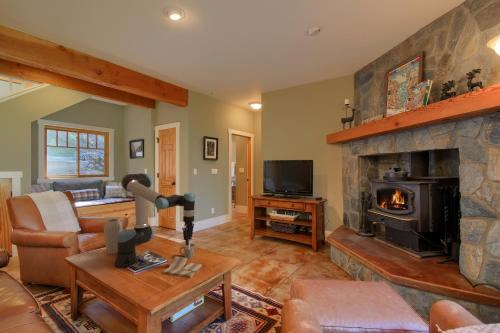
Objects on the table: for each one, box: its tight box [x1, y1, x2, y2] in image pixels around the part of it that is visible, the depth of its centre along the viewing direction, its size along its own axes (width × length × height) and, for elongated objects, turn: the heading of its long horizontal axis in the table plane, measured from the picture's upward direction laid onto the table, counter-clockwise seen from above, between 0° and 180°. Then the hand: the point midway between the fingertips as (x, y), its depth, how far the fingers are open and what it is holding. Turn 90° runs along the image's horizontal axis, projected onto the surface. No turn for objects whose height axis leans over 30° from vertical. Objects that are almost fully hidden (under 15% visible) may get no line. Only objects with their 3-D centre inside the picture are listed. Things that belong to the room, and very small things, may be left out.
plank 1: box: [168, 256, 188, 270], centre depth 165 cm, size 10×9×2 cm
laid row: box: [162, 267, 196, 279], centre depth 161 cm, size 22×17×2 cm
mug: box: [179, 243, 196, 260], centre depth 183 cm, size 8×13×10 cm, turn 78°
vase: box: [103, 218, 123, 255], centre depth 191 cm, size 13×13×26 cm
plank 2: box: [182, 262, 203, 274], centre depth 163 cm, size 10×9×2 cm
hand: (187, 249), depth 165 cm, fingers closed
